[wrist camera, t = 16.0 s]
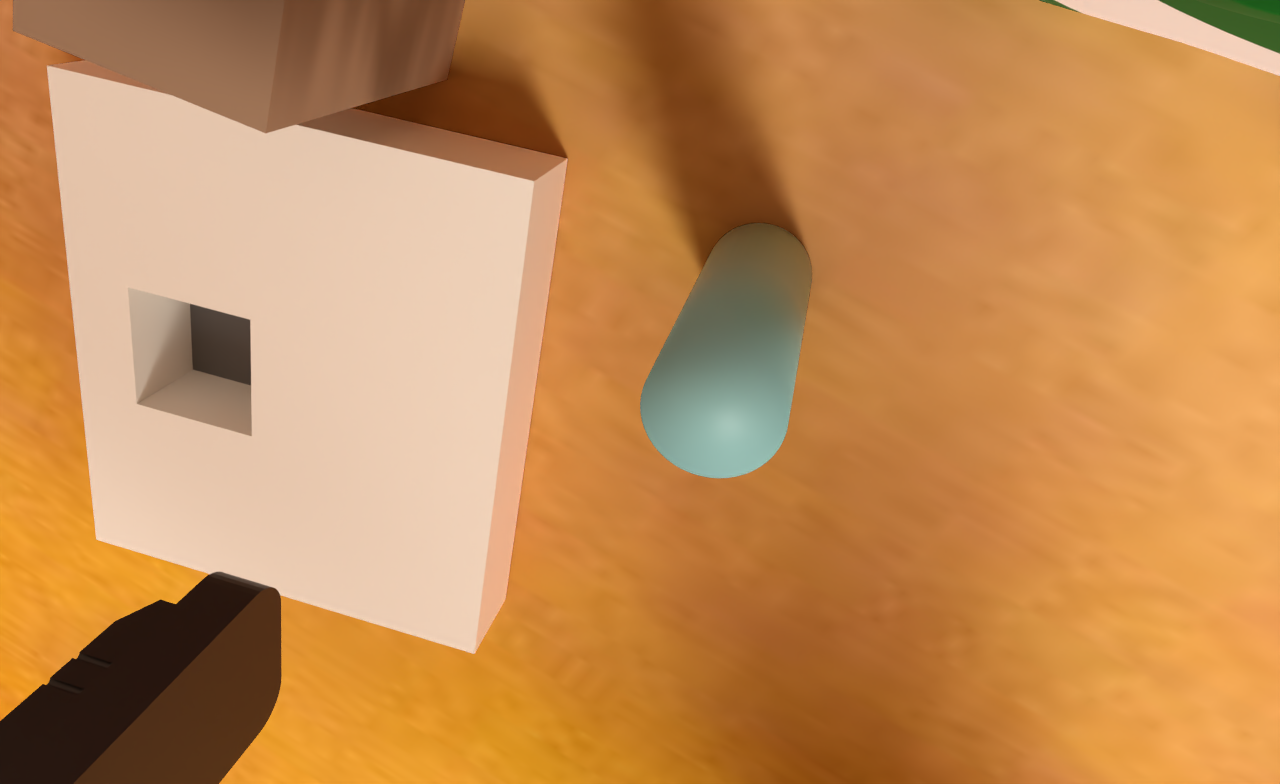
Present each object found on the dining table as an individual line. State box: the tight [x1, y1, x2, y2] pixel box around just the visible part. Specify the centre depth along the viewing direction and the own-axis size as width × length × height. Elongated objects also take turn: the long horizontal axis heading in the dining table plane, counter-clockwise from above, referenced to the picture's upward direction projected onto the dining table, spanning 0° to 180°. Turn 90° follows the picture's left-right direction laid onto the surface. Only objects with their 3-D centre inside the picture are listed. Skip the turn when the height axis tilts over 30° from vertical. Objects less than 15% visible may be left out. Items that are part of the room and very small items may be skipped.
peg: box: [640, 223, 812, 478], centre depth 23 cm, size 3×3×9 cm
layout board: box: [47, 60, 568, 654], centre depth 30 cm, size 16×14×3 cm
